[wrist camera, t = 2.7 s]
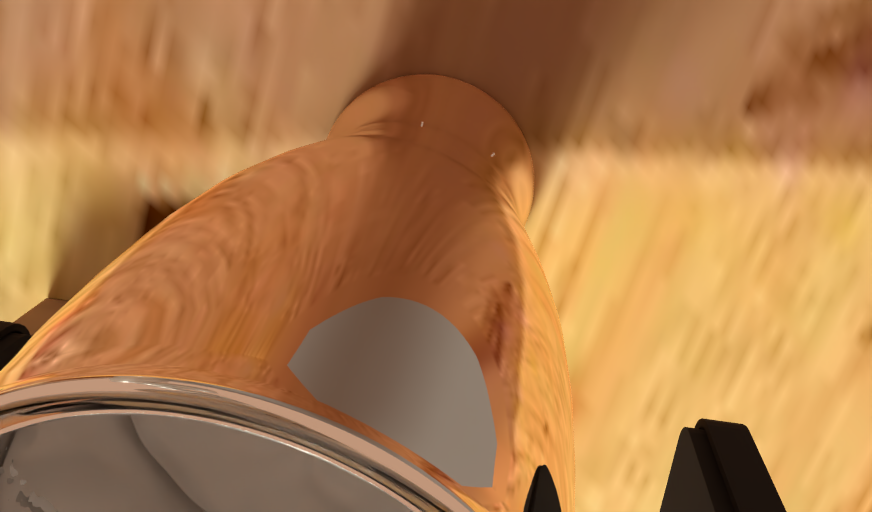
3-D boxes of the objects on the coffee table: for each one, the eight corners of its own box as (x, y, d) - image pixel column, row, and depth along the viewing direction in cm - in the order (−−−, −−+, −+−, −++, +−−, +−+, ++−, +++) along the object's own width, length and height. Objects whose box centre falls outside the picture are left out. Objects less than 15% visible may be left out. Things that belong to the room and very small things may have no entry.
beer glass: (535, 300, 21) (547, 952, 7) (311, 277, 22) (-61, 838, 8) (565, 66, 18) (678, 421, 4) (306, 46, 19) (-288, 307, 5)
